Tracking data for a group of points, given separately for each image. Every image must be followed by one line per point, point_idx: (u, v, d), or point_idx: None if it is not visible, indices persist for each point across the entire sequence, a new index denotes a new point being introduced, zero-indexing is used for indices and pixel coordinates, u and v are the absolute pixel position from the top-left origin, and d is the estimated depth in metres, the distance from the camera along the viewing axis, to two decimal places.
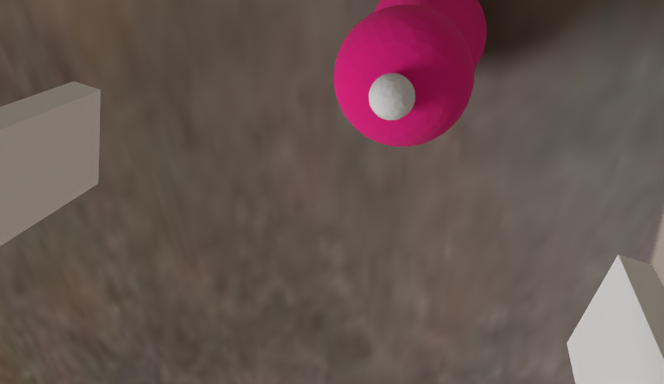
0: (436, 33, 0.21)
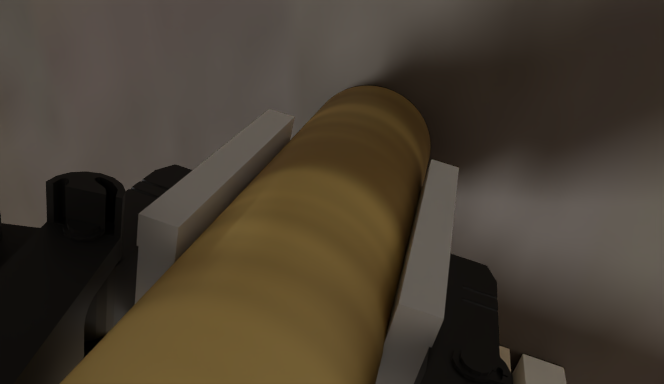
0: None
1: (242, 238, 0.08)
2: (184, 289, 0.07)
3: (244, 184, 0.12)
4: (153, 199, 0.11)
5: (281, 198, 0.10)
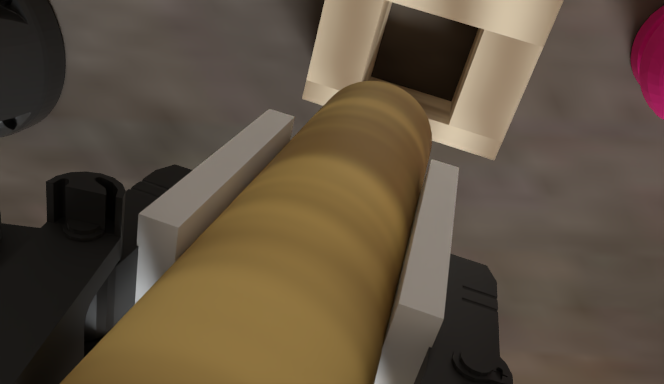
0: None
1: (258, 216, 0.09)
2: (209, 260, 0.08)
3: (244, 184, 0.12)
4: (153, 199, 0.11)
5: (293, 181, 0.10)
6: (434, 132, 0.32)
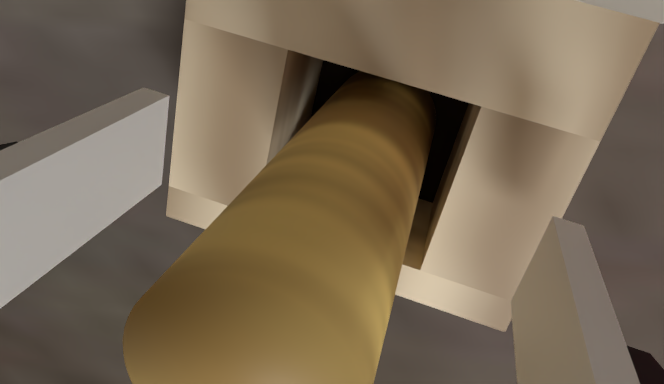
0: None
1: (299, 165, 0.11)
2: (264, 194, 0.10)
3: (86, 161, 0.12)
4: None
5: (324, 142, 0.12)
6: None
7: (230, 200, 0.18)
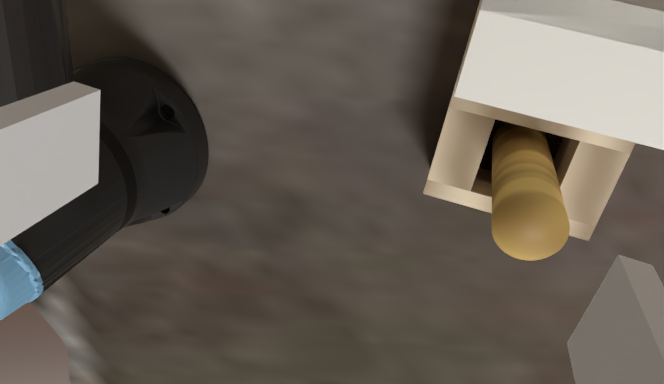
0: None
1: (525, 166, 0.32)
2: (522, 176, 0.31)
3: None
4: None
5: (526, 158, 0.34)
6: None
7: (458, 184, 0.39)
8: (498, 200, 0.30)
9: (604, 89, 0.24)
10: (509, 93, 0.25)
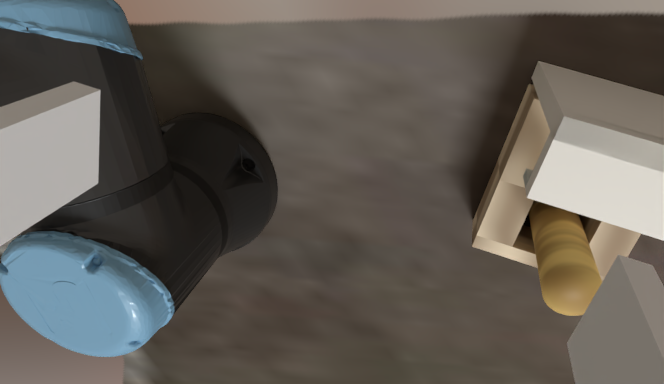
0: None
1: (566, 238, 0.40)
2: (565, 247, 0.39)
3: None
4: None
5: (565, 228, 0.42)
6: None
7: (502, 241, 0.47)
8: (547, 267, 0.39)
9: (642, 201, 0.32)
10: (570, 199, 0.33)
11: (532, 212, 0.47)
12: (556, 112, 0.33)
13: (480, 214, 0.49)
